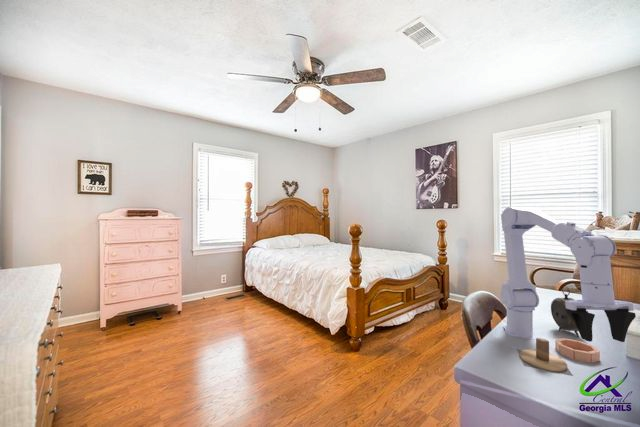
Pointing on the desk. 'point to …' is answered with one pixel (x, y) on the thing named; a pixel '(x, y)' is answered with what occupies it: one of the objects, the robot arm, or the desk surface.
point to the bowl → (577, 350)
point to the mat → (543, 369)
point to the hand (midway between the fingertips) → (602, 340)
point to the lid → (543, 357)
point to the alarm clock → (563, 314)
